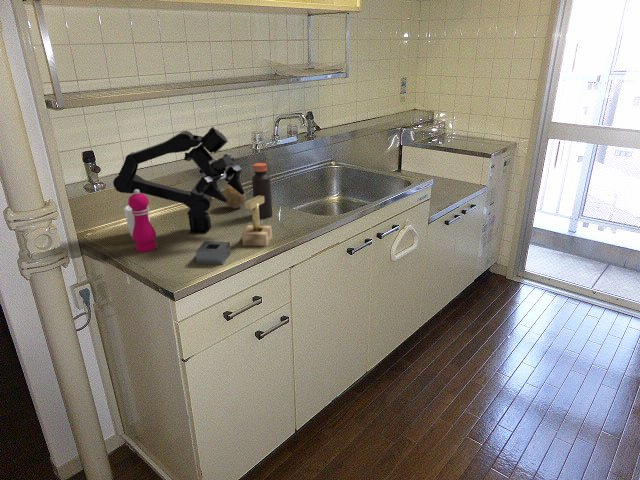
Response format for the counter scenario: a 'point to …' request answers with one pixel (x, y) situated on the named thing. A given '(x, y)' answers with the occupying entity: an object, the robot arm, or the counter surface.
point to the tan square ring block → (257, 236)
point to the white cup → (131, 218)
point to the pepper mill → (142, 223)
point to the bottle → (262, 189)
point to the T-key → (255, 211)
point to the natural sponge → (233, 197)
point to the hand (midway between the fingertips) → (235, 197)
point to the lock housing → (213, 252)
